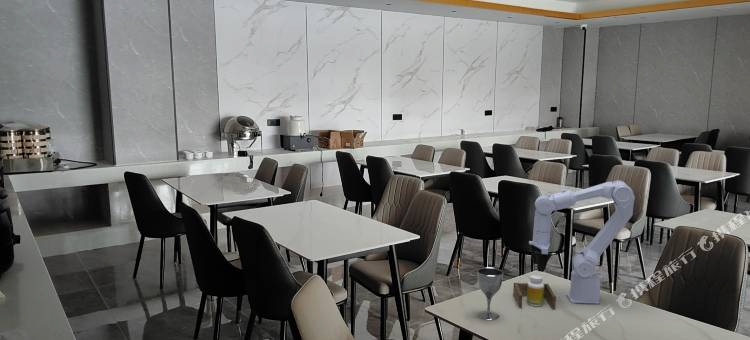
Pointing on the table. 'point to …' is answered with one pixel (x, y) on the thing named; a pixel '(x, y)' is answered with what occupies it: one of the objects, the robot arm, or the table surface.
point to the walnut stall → (521, 291)
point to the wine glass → (489, 288)
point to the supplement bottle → (535, 291)
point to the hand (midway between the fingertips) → (538, 267)
